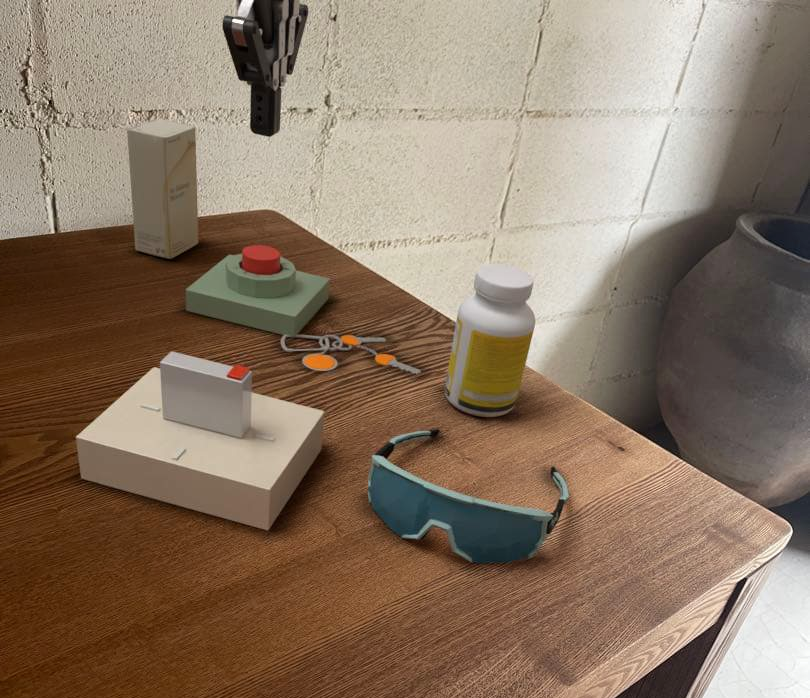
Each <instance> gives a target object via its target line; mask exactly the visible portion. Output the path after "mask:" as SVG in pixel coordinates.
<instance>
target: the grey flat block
mask: <svg viewBox="0 0 810 698" xmlns="http://www.w3.org/2000/svg"><path fill="white" fill-rule="evenodd" d="M159 368H160V375H161V394H162V413H163V418H164V419H168V420H172V421H176V422H180V423H184V424H187V425H191V426H195V427H199V428H203V429H207V430H211V431H215V432H219V433H222V434H226V435H230V436H234V437H238V438H242V437H243V436H244V434H245V433H246V432H247V431H248V429H249V428H250V427H251V402H252V393H253V371H252V370H250V367H246V366H242V365H238V364H235V365H229V364H225V363H220V362H217V361H213V360H209V359H204V358H200V357H198V356H193V355H189V354H185V353H180V352H176V351H170V352H169V353H168V354H167V355H165V357H163V358H162V359H161V360H160V361H159Z"/></svg>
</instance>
